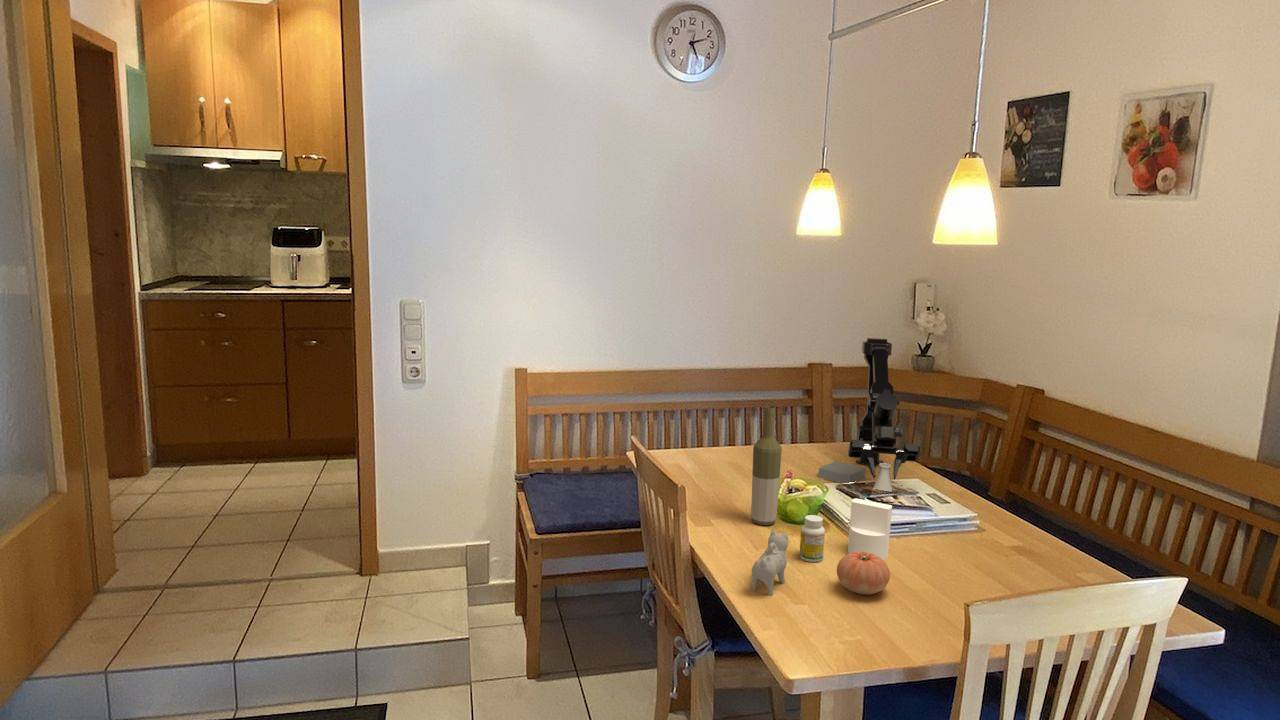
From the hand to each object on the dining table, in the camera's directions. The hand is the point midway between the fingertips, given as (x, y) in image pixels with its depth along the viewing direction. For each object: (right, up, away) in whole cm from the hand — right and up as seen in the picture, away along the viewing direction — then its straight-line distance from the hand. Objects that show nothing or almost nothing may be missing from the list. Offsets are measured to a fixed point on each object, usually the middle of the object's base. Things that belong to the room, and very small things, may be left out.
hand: (884, 477), depth 230 cm
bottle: (-35, -9, -17) cm, 40 cm away
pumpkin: (-20, -16, -53) cm, 59 cm away
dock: (-7, -3, +20) cm, 22 cm away
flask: (0, -6, +3) cm, 7 cm away
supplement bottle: (-28, -13, -38) cm, 49 cm away
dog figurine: (-39, -15, -51) cm, 67 cm away
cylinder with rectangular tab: (-14, -13, -34) cm, 39 cm away
